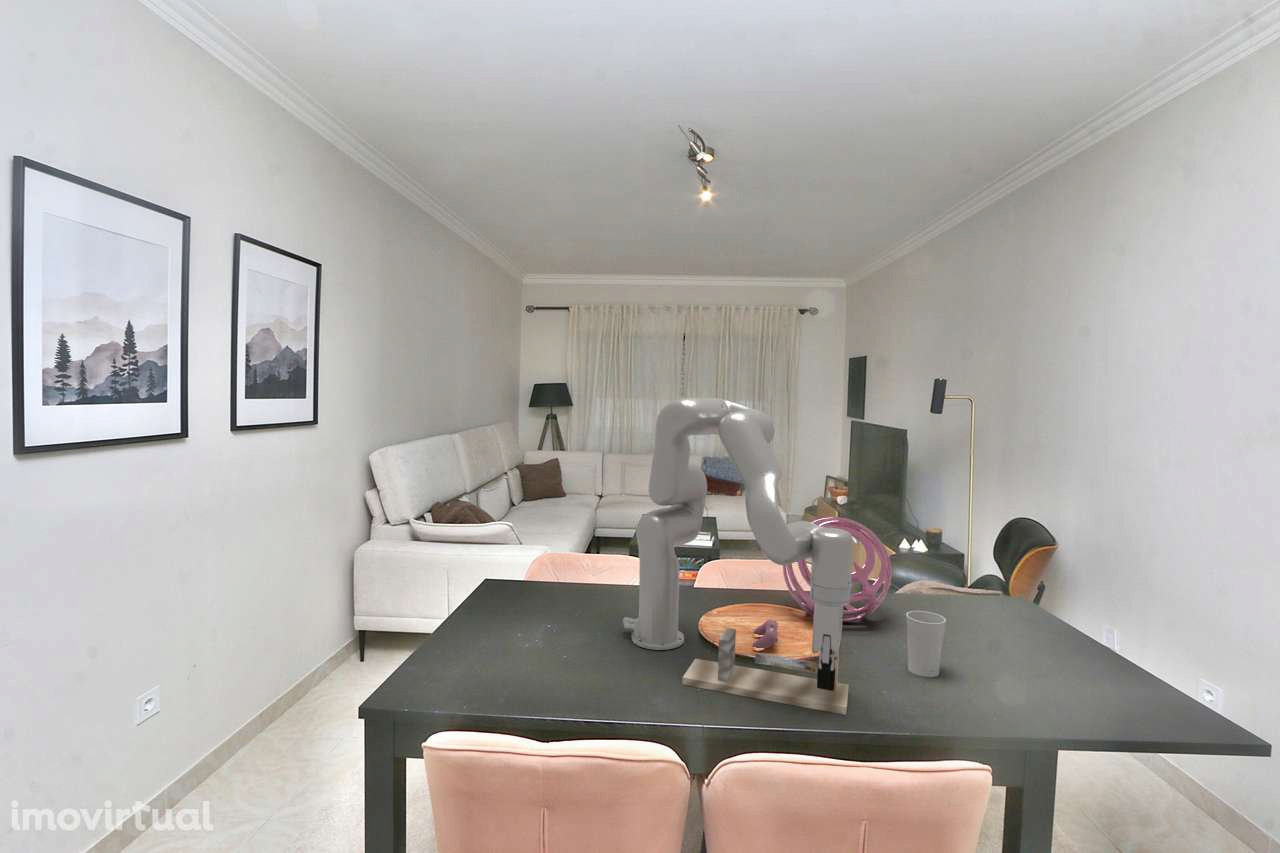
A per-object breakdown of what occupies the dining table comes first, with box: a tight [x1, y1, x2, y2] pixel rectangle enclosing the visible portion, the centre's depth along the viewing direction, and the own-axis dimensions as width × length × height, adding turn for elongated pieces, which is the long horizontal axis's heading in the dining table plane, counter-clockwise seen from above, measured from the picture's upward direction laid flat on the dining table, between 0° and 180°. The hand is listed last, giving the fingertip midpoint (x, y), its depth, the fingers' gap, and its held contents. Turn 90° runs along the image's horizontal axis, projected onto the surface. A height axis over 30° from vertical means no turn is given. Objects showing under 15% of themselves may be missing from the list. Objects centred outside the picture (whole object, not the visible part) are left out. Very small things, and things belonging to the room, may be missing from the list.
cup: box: [905, 610, 947, 678], centre depth 140 cm, size 8×8×12 cm
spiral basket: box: [782, 516, 893, 624], centre depth 174 cm, size 28×28×27 cm
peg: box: [754, 651, 840, 690], centre depth 128 cm, size 16×4×6 cm, turn 70°
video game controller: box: [752, 618, 779, 649], centre depth 153 cm, size 10×5×7 cm, turn 169°
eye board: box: [681, 627, 850, 716], centre depth 130 cm, size 32×10×10 cm, turn 70°
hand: (826, 682), depth 126 cm, fingers closed on peg, 4 cm apart
